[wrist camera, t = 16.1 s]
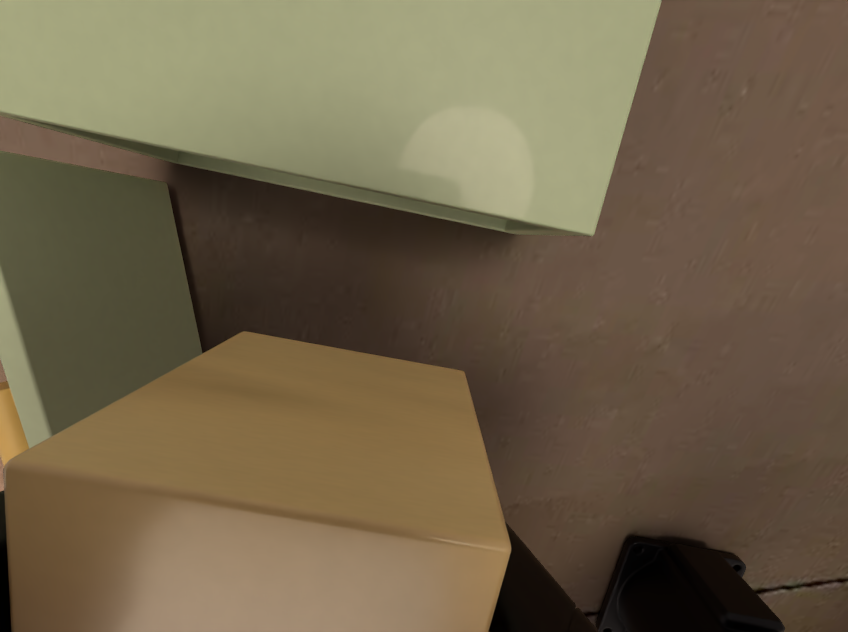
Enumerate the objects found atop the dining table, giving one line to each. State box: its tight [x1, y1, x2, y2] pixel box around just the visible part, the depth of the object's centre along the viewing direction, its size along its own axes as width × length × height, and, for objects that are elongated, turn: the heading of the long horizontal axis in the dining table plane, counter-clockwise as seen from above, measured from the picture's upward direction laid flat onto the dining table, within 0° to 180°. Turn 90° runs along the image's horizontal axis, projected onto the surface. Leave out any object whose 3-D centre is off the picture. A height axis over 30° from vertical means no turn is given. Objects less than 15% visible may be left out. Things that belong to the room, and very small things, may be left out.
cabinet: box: [0, 0, 662, 236], centre depth 12 cm, size 11×16×9 cm
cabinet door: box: [0, 151, 203, 466], centre depth 15 cm, size 6×16×8 cm, turn 5°
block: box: [3, 331, 512, 632], centre depth 7 cm, size 5×5×5 cm
